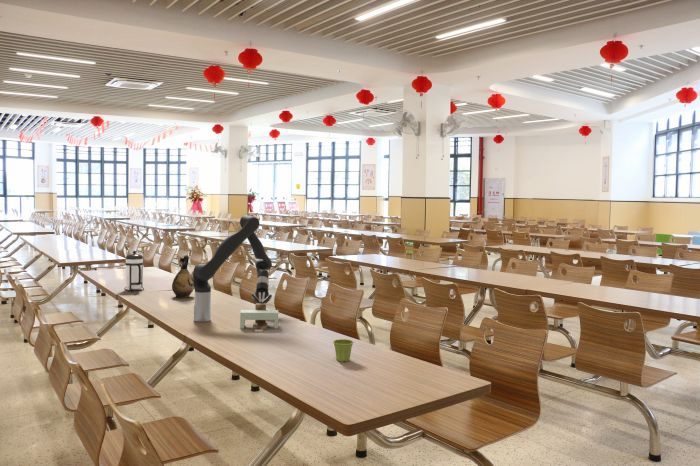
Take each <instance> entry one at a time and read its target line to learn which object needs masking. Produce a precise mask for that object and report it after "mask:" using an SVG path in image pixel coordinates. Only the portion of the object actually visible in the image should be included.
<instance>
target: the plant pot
mask: <svg viewBox="0 0 700 466" xmlns="http://www.w3.org/2000/svg"><path fill="white" fill-rule="evenodd" d="M332 342H333V345H334V351H335V359H336V361H337V362H339V363H344V362H349V361H350V360H351V354H352V347H353V344H355V342H354V341H353V340H351V339H345V338H341V339H340V338H339V339H335V340H333V341H332Z"/></svg>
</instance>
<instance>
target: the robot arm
mask: <svg viewBox="0 0 700 466" xmlns="http://www.w3.org/2000/svg"><path fill="white" fill-rule="evenodd" d="M239 226H240V228H241V229H239V230H238V231H237V232H235V233H233V234H231V235H229V236H227V237H226V238H224V239H223V241H221V242H220V244H218V246H217V247H216V250H215V253H214V255H213V257H212V258H211V259H210V260H209V261H208V262H207V263H206V264H203V263H198V264H196V265H195V266H194V268H193V271H192V278H193V285H194V304H193V322H198V323H199V322H200V323H201V322H205V323H206V322H210V321H211V320H212V319H211V316H212V315H211V313H212V312H211V311H212V310H211V309H212V307H211V306H212V305H211V304H212V300H211V299H212V287H211V285H210V283H209V280H211V279H212V278H213V277H214V275H215V274H216V273H217V271H218V270H220V269H219V268H220V267H221V266H222V265H223V264H224V263H225V262H226V261H227V260H228V259H229V258H230V257H231V256H232V254H234V253H235V251H236V250H237V249H238V248H239V247H240V246H241V245H242V243H243V244H244V242H245V240H247V241H248V242H249V244H250V247H251V249H252V252H253V255H254V257H255V259H258V260H256V261H255V264H254V266H255V269H256V272H257V273H256V274H257V277H256V278H257V279H256V286H255V293H254V294H251V299H252V300H253V301H254V302H255V304H256V303H266V304H268V302H269V301H271V299H272V298H273V295H272V294H270V293H269V271H268V270H270V269H271V268H272V266H273V262H272V260H271V259H270V258H269V256H268V254H267V253H266V251H265V248H264V246H263V242H261V240H260V238H258V236H257V234H256V231H257V230H258V229H259V227H260V220H259V218H258V217H255V216H252V215H249V214H245V215H242V216H241V217H240V219H239Z"/></svg>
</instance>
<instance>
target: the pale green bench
mask: <svg viewBox="0 0 700 466" xmlns="http://www.w3.org/2000/svg"><path fill="white" fill-rule="evenodd" d="M239 315H240V317H239V318H240V319H239V321H240V322H239V329H240V330H242V329H245V326H246V325H245V324H246V322H245V321H248V320H249V321H255V320H266V321H274V322H273V323H274V326H273V327H274V329H276V330H277V329H279V309H266V310H255V309H241V310H240V313H239Z"/></svg>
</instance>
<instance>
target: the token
mask: <svg viewBox="0 0 700 466" xmlns="http://www.w3.org/2000/svg"><path fill="white" fill-rule="evenodd" d="M262 331H263V332H264V330H263V329H261V328H257V329H254V330H253V332H254V333H263V332H262Z"/></svg>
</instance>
